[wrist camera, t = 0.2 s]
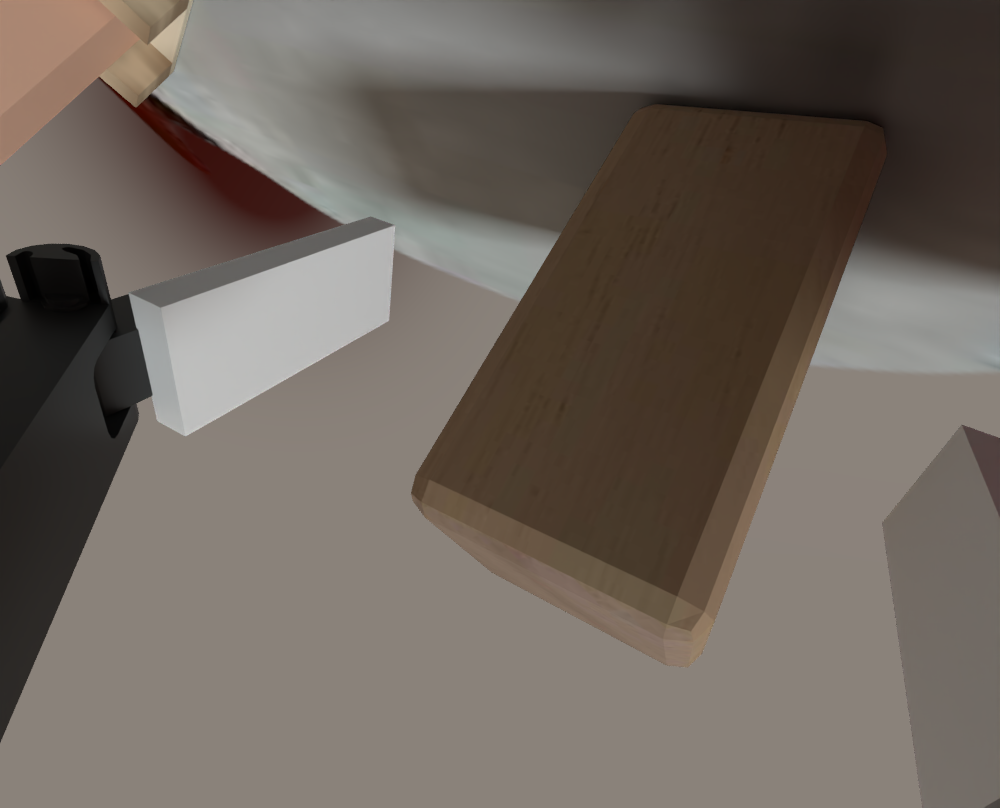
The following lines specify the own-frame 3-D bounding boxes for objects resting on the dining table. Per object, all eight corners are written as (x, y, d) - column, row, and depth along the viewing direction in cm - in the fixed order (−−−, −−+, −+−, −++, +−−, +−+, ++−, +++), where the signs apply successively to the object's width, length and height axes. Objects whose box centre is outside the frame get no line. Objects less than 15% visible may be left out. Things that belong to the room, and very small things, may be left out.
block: (645, 253, 33) (480, 567, 26) (636, 91, 24) (388, 495, 18) (835, 292, 28) (691, 680, 22) (903, 110, 20) (702, 654, 14)
